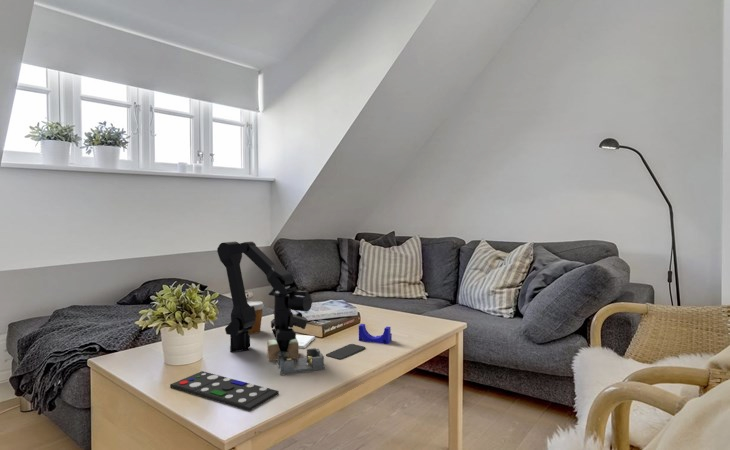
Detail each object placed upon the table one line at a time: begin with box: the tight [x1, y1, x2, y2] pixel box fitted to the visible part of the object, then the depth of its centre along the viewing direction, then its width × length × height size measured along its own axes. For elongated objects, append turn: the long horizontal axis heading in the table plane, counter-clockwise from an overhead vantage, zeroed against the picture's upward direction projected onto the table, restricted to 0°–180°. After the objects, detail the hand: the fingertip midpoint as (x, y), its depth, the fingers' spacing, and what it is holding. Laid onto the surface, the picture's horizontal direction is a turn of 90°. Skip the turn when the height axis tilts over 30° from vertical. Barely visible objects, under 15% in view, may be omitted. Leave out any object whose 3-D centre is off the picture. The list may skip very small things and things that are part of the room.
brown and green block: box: [266, 339, 300, 362], centre depth 146 cm, size 10×6×5 cm, turn 107°
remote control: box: [169, 370, 280, 412], centre depth 118 cm, size 11×30×2 cm, turn 62°
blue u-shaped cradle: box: [358, 323, 393, 345], centre depth 164 cm, size 12×4×6 cm, turn 69°
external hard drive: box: [296, 334, 316, 349], centre depth 161 cm, size 2×8×12 cm
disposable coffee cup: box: [247, 300, 265, 335], centre depth 176 cm, size 10×10×12 cm
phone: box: [325, 343, 366, 360], centre depth 151 cm, size 7×1×15 cm
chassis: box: [276, 347, 326, 376], centre depth 136 cm, size 14×10×4 cm
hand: (282, 353), depth 146 cm, fingers closed on brown and green block, 6 cm apart
